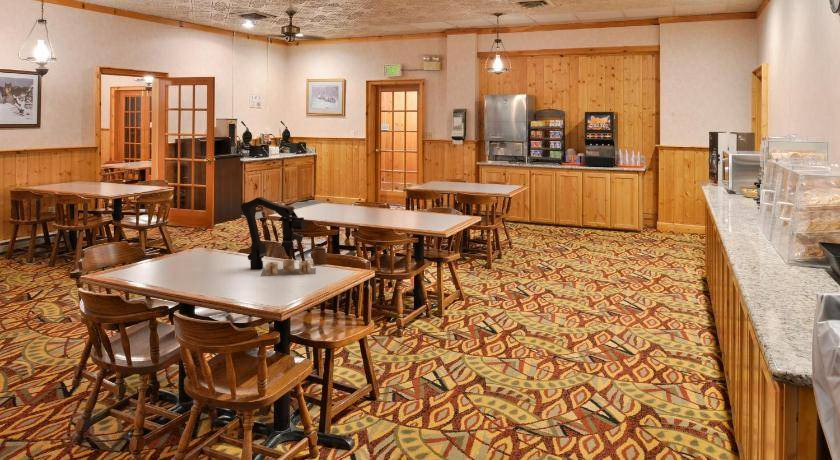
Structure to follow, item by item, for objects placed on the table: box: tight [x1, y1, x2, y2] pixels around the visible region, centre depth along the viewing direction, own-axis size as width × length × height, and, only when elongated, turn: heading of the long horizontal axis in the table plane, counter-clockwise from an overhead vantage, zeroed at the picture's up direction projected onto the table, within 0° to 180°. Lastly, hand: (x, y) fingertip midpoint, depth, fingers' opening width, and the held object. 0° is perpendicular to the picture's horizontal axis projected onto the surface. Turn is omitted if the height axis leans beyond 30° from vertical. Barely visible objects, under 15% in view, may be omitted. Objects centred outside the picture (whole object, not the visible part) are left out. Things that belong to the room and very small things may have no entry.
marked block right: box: [298, 260, 311, 275], centre depth 342 cm, size 6×6×6 cm
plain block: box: [282, 258, 296, 272], centre depth 346 cm, size 6×6×6 cm
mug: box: [310, 247, 327, 266], centre depth 364 cm, size 12×8×9 cm, turn 153°
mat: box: [260, 267, 317, 277], centre depth 344 cm, size 30×16×1 cm, turn 99°
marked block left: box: [265, 261, 279, 275], centre depth 339 cm, size 6×6×6 cm
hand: (288, 256), depth 345 cm, fingers closed
